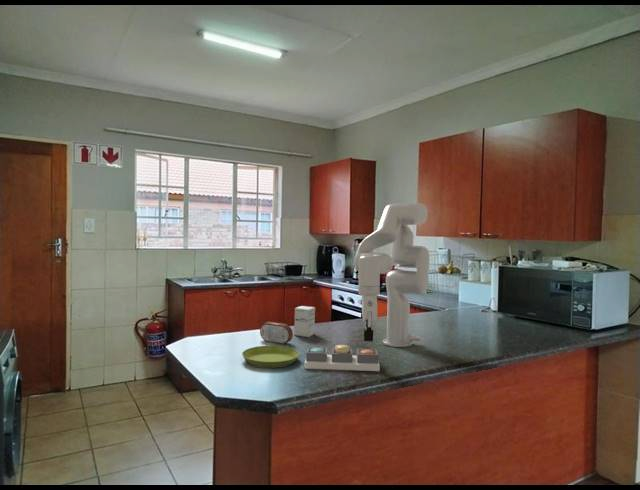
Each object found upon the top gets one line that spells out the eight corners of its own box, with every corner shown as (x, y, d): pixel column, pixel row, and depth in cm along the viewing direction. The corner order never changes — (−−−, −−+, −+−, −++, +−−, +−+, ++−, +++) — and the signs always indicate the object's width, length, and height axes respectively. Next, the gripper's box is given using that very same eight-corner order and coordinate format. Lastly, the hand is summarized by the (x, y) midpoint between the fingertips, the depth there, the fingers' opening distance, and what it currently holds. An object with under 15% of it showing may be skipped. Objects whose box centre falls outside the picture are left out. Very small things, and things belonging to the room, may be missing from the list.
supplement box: (293, 335, 198) (294, 307, 198) (300, 332, 205) (300, 305, 205) (308, 337, 195) (309, 309, 195) (314, 333, 202) (315, 306, 202)
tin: (293, 343, 184) (293, 324, 184) (289, 345, 181) (289, 325, 181) (262, 339, 190) (262, 320, 190) (258, 341, 187) (258, 321, 187)
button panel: (376, 361, 161) (377, 348, 161) (379, 371, 150) (379, 356, 150) (306, 359, 163) (307, 345, 162) (304, 368, 152) (304, 354, 151)
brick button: (373, 358, 158) (373, 349, 158) (374, 362, 153) (374, 353, 153) (359, 357, 159) (360, 349, 158) (360, 361, 154) (360, 353, 154)
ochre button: (348, 353, 159) (349, 345, 159) (349, 357, 154) (349, 348, 154) (335, 352, 159) (335, 344, 159) (334, 356, 154) (335, 348, 154)
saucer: (250, 373, 146) (250, 363, 146) (236, 356, 165) (236, 348, 165) (307, 366, 154) (307, 357, 154) (288, 351, 173) (288, 343, 173)
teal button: (324, 356, 159) (324, 348, 159) (323, 360, 154) (323, 352, 154) (310, 355, 159) (310, 347, 159) (309, 359, 154) (309, 351, 154)
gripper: (381, 293, 148) (380, 347, 149) (377, 286, 163) (377, 335, 164) (359, 293, 148) (358, 346, 149) (357, 286, 163) (357, 334, 164)
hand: (368, 340), depth 157 cm, fingers closed
